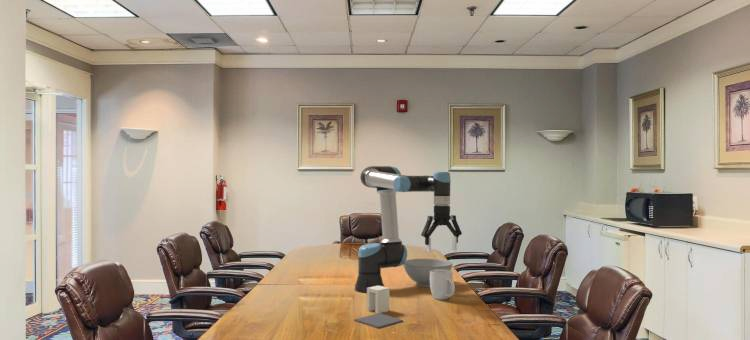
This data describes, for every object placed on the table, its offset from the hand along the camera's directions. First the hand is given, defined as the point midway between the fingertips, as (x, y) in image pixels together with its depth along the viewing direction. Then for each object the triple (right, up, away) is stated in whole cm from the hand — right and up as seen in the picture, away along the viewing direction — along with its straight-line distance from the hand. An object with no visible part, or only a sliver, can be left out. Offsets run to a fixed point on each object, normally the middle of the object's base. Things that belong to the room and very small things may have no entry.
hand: (441, 251), depth 236 cm
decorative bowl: (-2, -25, +43) cm, 50 cm away
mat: (-29, -24, -27) cm, 47 cm away
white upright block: (-29, -24, -11) cm, 40 cm away
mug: (+2, -25, +11) cm, 27 cm away
